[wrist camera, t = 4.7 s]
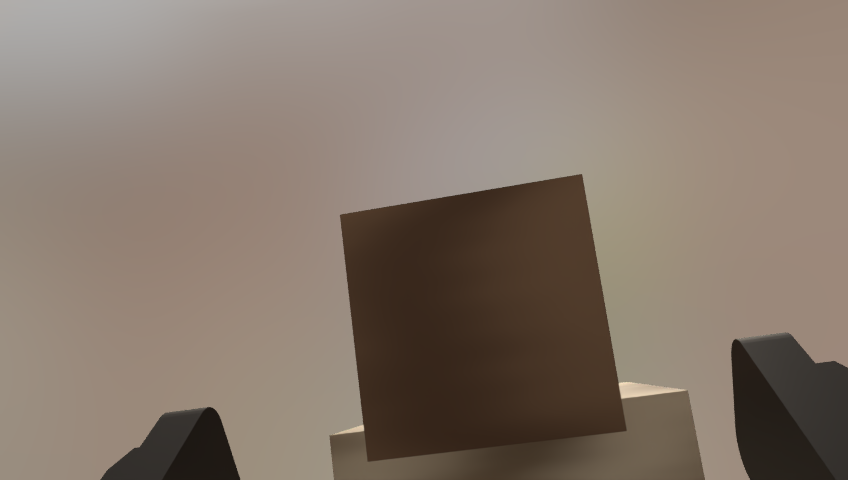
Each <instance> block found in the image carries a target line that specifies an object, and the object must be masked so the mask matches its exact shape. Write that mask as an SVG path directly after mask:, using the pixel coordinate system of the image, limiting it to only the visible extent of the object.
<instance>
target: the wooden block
mask: <svg viewBox="0 0 848 480" xmlns="http://www.w3.org/2000/svg"><path fill="white" fill-rule="evenodd" d="M619 389H620V394H621V400H622V406H623V411H624V417H625V423H626V429H627V431H624V432H615V433H607V434H598V435H590V436H581V437H573V438H565V439H556V440H548V441H539V442H531V443H522V444H514V445H506V446H497V447H489V448H480V449H472V450H463V451H455V452H447V453H438V454H430V455H421V456H413V457H404V458H396V459H387V460H379V461H371V462H368V461H367V452H366V443H365V434H364V425H361V426H358V427H355V428H352V429H348V430H345V431H342V432H339V433H336V434H332V435H330V444H331V454H332V462H333V463H332V464H333V473H334V480H705V478H704V473H703V468H702V463H701V457H700V452H699V447H698V441H697V437H696V431H695V426H694V421H693V416H692V410H691V405H690V400H689V394H688V391H687V390H682V389H675V388H667V387H660V386H653V385H646V384H639V383H631V382H624V383H619Z"/></svg>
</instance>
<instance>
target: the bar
mask: <svg viewBox="0 0 848 480" xmlns="http://www.w3.org/2000/svg"><path fill="white" fill-rule="evenodd" d="M340 218H341V228H342V237H343V246H344V254H345V264H346V272H347V282H348V290H349V299H350V308H351V317H352V326H353V335H354V343H355V353H356V361H357V371H358V380H359V388H360V398H361V407H362V415H363V425H364V434H365V443H366V452H367V461H368V462H371V461H379V460H387V459H396V458H404V457H413V456H421V455H430V454H438V453H447V452H455V451H463V450H472V449H480V448H489V447H497V446H506V445H514V444H522V443H531V442H539V441H548V440H556V439H565V438H573V437H581V436H590V435H598V434H607V433H615V432H624V431H627V429H626V423H625V417H624V411H623V406H622V400H621V394H620V389H619V383H618V377H617V371H616V366H615V360H614V354H613V349H612V343H611V337H610V331H609V326H608V320H607V314H606V309H605V303H604V297H603V291H602V286H601V280H600V274H599V269H598V263H597V257H596V251H595V246H594V240H593V234H592V229H591V223H590V217H589V212H588V206H587V200H586V195H585V190H584V183H583V177H582V174H580V175H574V176H568V177H562V178H556V179H550V180H544V181H538V182H532V183H526V184H520V185H514V186H509V187H502V188H496V189H491V190H485V191H479V192H473V193H467V194H461V195H455V196H449V197H443V198H437V199H431V200H425V201H419V202H413V203H407V204H401V205H396V206H389V207H383V208H377V209H371V210H365V211H359V212H353V213H348V214H342V215H340Z"/></svg>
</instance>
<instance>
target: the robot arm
mask: <svg viewBox="0 0 848 480" xmlns="http://www.w3.org/2000/svg"><path fill="white" fill-rule="evenodd" d="M731 357H732V375H733V392H734V411H735V427H736V436H737V443H738V447H739V451H740V455H741V459H742V461H743V465H744V467H745V470H746V472H747V474H748V476H749V478H750V480H848V368H847V367H845V366H843V365H841V364H839V363H837V362H835V361H831V362H823V363H814V361H813V360H812V359H811V358H810V357H809V355H808V354H807V353H806V352H805V351H804V349H803V348H802V347H801V346H800V345H799V344H798V342H797V341H796V340H795V339H794V338H793V336H792V335H791V334H789V333H779V334H771V335H763V336H756V337H749V338H741V339H735V340H734V341H733V343H732V351H731ZM101 480H240V477H239V474H238V471H237V468H236V465H235V462H234V459H233V456H232V452H231V449H230V446H229V443H228V440H227V437H226V434H225V431H224V428H223V425H222V422H221V419H220V416H219V415H218V413H217V411H216V410H215V409H213V408H211V407H207V408H199V409H192V410H185V411H176V412H169V413H165V414H164V415H162V416H161V417H160V418H159V420H158V421H157V423H156V424H155V426H154V427H153V429H152V430H151V432H150V433H149V435H148V436H147V437H146V439H145V440H144V442H143V443H142V445H141V446H140V447H139V448H134V449H133V450H131V451H130V452H129V453H128V454H127V455H125V456H124V457H123V458H122V459H120V460H119V461H118V462H117V463H116V464H114V465H113V466H112V467H111V468H109V469H108V470H107V471H106V473H105V474H104V476H103V477H102V479H101Z"/></svg>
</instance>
